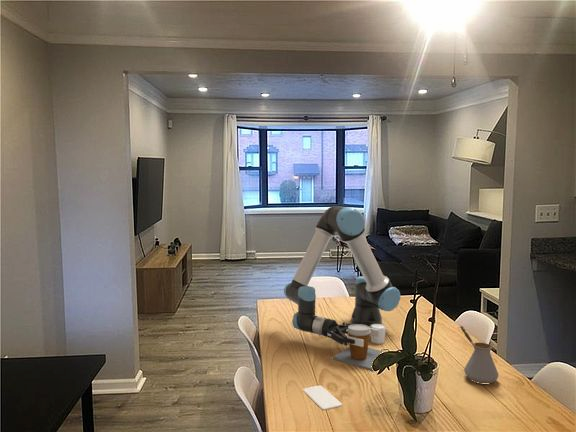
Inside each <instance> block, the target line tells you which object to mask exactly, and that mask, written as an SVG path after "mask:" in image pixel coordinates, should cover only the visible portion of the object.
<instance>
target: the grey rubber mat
mask: <svg viewBox="0 0 576 432" xmlns="http://www.w3.org/2000/svg"><path fill="white" fill-rule="evenodd" d="M382 352H385V351H383V350H379V349H375V348H372V347H368V350H367V358H365V359H360V360H359V359H354V358H352V357H351V354H350V346H349V347H347V348H345V349H344V350H342V351H340V352H339V353H338V354H336V355H334V356H333V357H332V360H334V361H337V362H339V363H340V362H341V363H345V364H348V365H351V366H355V367H359V368H362V369H365V370H368V371H371V370H372V367H371V366H372V362H373V361H374V359H375V358H376V357H377V356H378V355H379V354H380V353H382Z"/></svg>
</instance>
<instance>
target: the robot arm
mask: <svg viewBox="0 0 576 432" xmlns="http://www.w3.org/2000/svg"><path fill="white" fill-rule="evenodd" d="M365 220H366V219H365V217H364V215H363V212H361V211H360V210H358V209H356V208H354V207H352V206H351V207H350V206H340V205H333V206H330V207H329V208H327V209H326V210H325V211H324V212H323V214H321V216H320V218H319V220H318V221H317V223H316V226H315V228H314V229H315V233H314V235H313V237H312V239H311V241H310V242H309V245H308V247H307V250H306V251H305V253H304V255H303V257H302V259H301V261H300V264H299V265H298V268H297V269H296V272H295V274H294V276H293V277H292V280H291V282H289V283H287V284H286V285H284V288H283V294H284V296H285V297H286V298H287V299H288V300H289V301H291V302H293V303H295V304H296V305H297V311H296V312H295V313H294V315H293V317H292V320H291V322H292V326H293V328H294V329H296V330H299V331H301V332H305V333H309V334H314V335H318V336H319V337H320V336H323V337H325V338H328V339H331V340H333V341H335V342H337V343H338V344H340V345H344V346H347V345H349V344H353V345H357V346H360V347H364V340H363V339H359V338H355V337H351V336H347V335H348V332H347V329H348V326H349V325H354V324H361V325H366V326H369V327H370V325H372V324H382V323H383V317H382V314H381V311H384V312H391V311H393V310H395V309H396V308H397V307H398V305H399V304H400V301H401V292H400V290H399V289H398V288H397V287H396V286H393V284H392V282H391V280H390V278H388V276H386V275H384V274H383V272H382V270H381V267H380V265H379V263H378V261H377V260H376V257H375V256H374V253H373V252H372V249H371V247H370V245H369V243H368V240H367V239H366V237H365V231H366V228H365V223H366V221H365ZM336 234H337V235H338V236H339V239H340V240H341V242H343V243H346V245H347V247H348V249H349V251H350V252H351V255H352V256H353V259H354V261H355V263H356V265H357V267H358V269H359V271H360V273H361V276H357V277H356V279H355V283H354V285H355V290H354V291H355V292H354V294H355V296H354V297H355V300H354V301H355V302H354V303H355V304H354V308H353V311H352V313H351V317H350V318H351V323H347V322H342V324H338V322H337V321H336V320H335V319H331V318H326V317H323V316H319V315H316V299H317V294H316V289H315V287H313V286H310V285H309V283H310V282H311V279H312V278H313V275H314V273H315V271H316V269H317V267H318V265H319V263H320V261H321V258H322V257H323V255H324V253H325V250H326V249H327V246H328V244H329V242H330V241H331V239H332V238H334V236H335V235H336ZM370 330H371V332H370V335H369V336H371V335H372V336H376V337H378V336H379V330H377V329H372V328H371V327H370Z"/></svg>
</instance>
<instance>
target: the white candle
mask: <svg viewBox="0 0 576 432" xmlns="http://www.w3.org/2000/svg"><path fill="white" fill-rule="evenodd" d="M369 327H370V328H372V329H377V330H379V336H378V337H376V336H372V335H370V339H371V343H373V344H379V345H381V344H384V343H385V341H386V340H385V339H386V338H385V337H386V331H387V326H386V325H385V324H382V323H381V324H372V325H370V326H369Z"/></svg>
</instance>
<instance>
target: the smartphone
mask: <svg viewBox="0 0 576 432" xmlns="http://www.w3.org/2000/svg"><path fill="white" fill-rule="evenodd" d="M302 390H303V392H304V393H305V394H306V395H307V396H308V397H309V398H310V399H311V400H312V401H313V402H314V403H315V404H316V405H317V406H318V407H319V408H320V409H321V410H322V411H326V410H331V409H336V408H340V407H343V404H342V402H341V401H339V400H338V399H337V398H336V397H335V396H334V395H332V394H331V392H330V391H328V390H327V389H326V388H325V387H324V386H323V385H315V386H310V387H305V388H303V389H302Z"/></svg>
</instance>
